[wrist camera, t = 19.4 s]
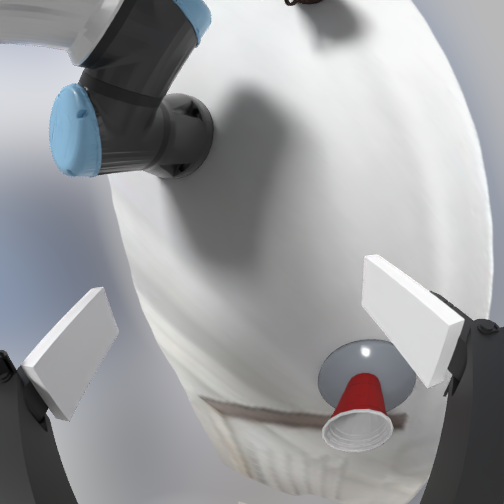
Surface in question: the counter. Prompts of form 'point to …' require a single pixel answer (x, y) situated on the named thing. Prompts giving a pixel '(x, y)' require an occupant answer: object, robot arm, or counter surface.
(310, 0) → the coffee mug
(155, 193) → the counter surface
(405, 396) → the gray round coaster
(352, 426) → the plastic cup
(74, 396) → the robot arm
